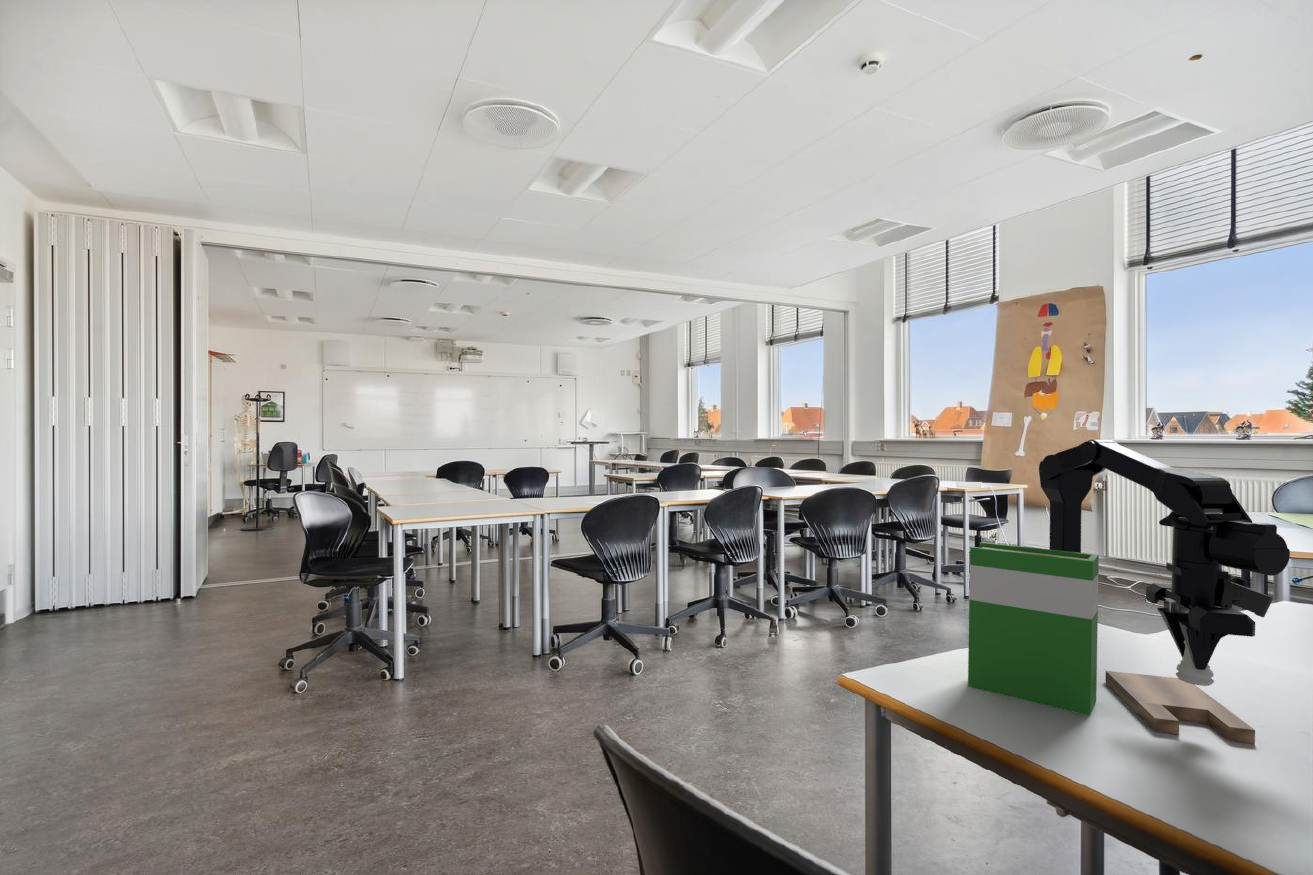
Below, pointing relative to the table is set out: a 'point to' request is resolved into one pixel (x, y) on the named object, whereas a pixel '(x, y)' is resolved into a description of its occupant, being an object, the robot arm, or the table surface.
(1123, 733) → the table surface
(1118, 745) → the table surface
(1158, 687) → the notched board
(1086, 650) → the green open box
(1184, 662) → the rook chess piece
